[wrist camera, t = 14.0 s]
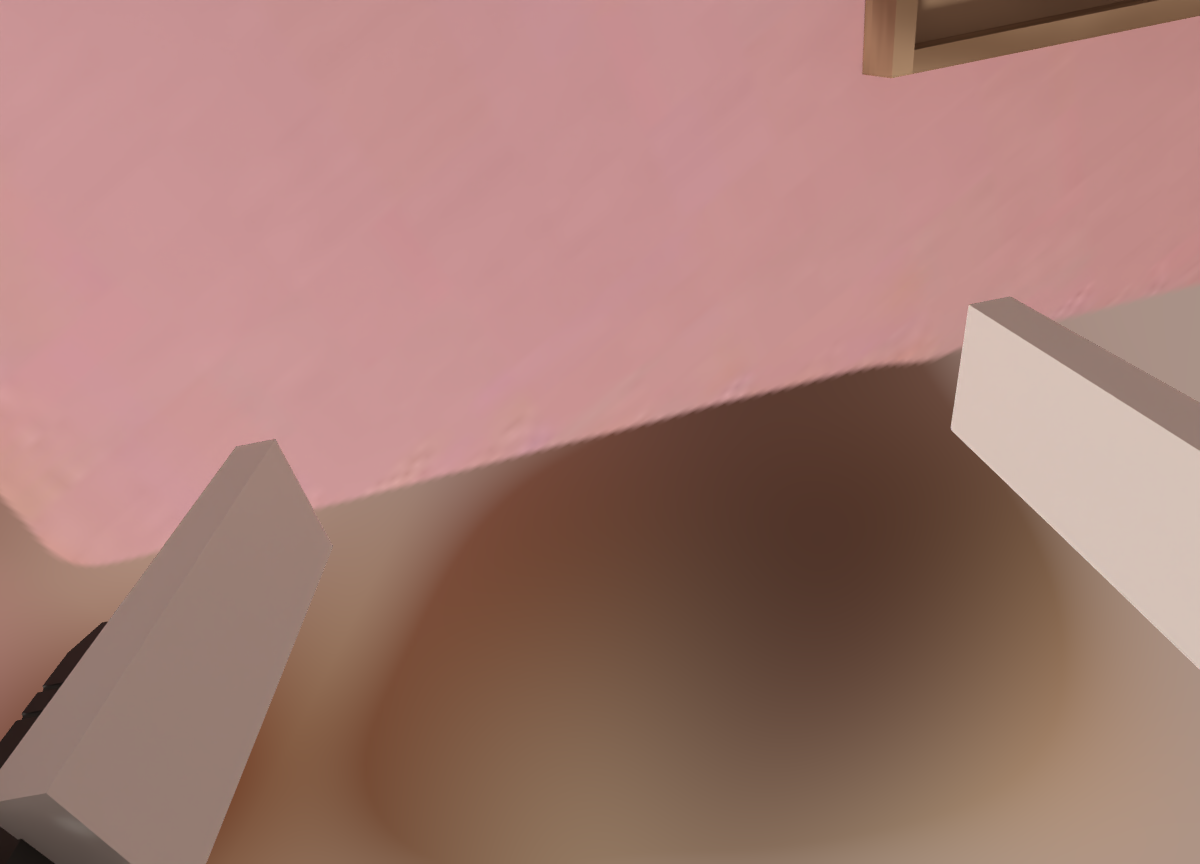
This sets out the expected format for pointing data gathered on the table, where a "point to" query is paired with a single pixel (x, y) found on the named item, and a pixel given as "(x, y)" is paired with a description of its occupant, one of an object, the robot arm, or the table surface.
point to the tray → (994, 28)
